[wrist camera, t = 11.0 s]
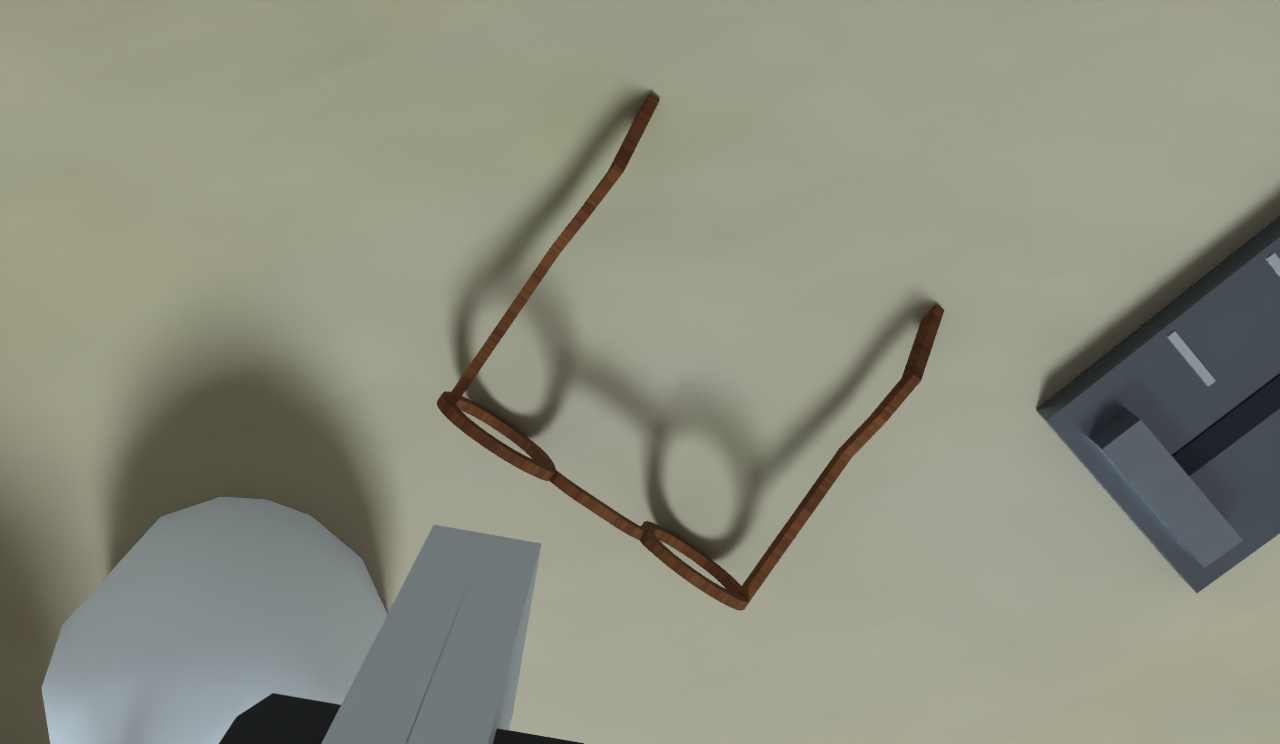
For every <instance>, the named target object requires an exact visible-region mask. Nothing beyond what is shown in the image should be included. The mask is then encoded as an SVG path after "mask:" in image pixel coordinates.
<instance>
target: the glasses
mask: <svg viewBox="0 0 1280 744" xmlns="http://www.w3.org/2000/svg"><path fill="white" fill-rule="evenodd" d="M658 102H659V99H657V98H656V97H654V96H653V95H652V94H650V96H649V97H648V98H647V100H646V101H645V103H644V104H643V106H642V107H641V109H640V111H639V112H638V114H637V116H636V118H635V120H634V122H633V123H632V125H631V127H630V129H629V131H628V133H627V135H626V137H625V139H624V141H623V143H622V145H621V147H620V149H619V151H618V153H617V155H616V157H615V159H614V161H613V163H612V165H611V166H610V168H609V170H608V172H607V173H606V175H605V176H604V178H603V179H602V180H601V182H600V183H599V184H598V186H597V187H596V188H595V190H594V191H593V193H592V194H591V195H590V197H589V198H588V199H587V201H586V202H585V203H584V205H583V206H582V207H581V209H580V210H579V211H578V213H577V214H576V215H575V217H574V218H573V219H572V221H571V222H570V223H569V224H568V226H567V227H566V228H565V230H564V231H563V232H562V233H561V235H560V236H559V237H558V239H557V240H556V241H555V242H554V244H553V245H552V246H551V248H550V249H549V251H548V252H547V253H546V255H545V256H544V258H543V259H542V261H541V262H540V264H539V265H538V267H537V268H536V269H535V271H534V272H533V274H532V275H531V277H530V278H529V280H528V281H527V283H526V284H525V285H524V287H523V288H522V290H521V291H520V293H519V294H518V296H517V297H516V299H515V300H514V301H513V303H512V304H511V306H510V307H509V309H508V310H507V312H506V313H505V315H504V316H503V317H502V319H501V320H500V322H499V323H498V325H497V326H496V328H495V329H494V331H493V332H492V334H491V335H490V336H489V338H488V339H487V341H486V342H485V344H484V345H483V347H482V348H481V350H480V351H479V352H478V354H477V355H476V357H475V358H474V360H473V361H472V363H471V364H470V366H469V367H468V368H467V370H466V371H465V373H464V374H463V376H462V377H461V379H460V380H459V382H458V383H457V384H456V386H455V387H454V389H453V390H452V392H443V394H442V395H441V396H440V398H439V399H438V401H437V405H438V408H439V409H440V410H441V412H442V413H443V414H444V415H445V416H446V417H447V418H448V419H449V420H450V421H451V422H452V423H453V424H454V425H455V426H457V427H458V428H459V429H460V430H462V431H463V432H464V433H465V434H467V435H468V436H469V437H471V438H472V439H474V440H475V441H476V442H478V443H479V444H481V445H482V446H483V447H485V448H486V449H488V450H489V451H491V452H492V453H494V454H496V455H497V456H499V457H500V458H502V459H503V460H505V461H507V462H508V463H510V464H512V465H514V466H515V467H517V468H519V469H521V470H523V471H525V472H527V473H529V474H531V475H533V476H535V477H538V478H540V479H542V480H545V481H550V482H552V483H553V484H554V485H555V486H556V487H558V488H559V489H560V490H562V491H563V492H564V493H566V494H567V495H568V496H570V497H571V498H573V499H574V500H576V501H577V502H579V503H580V504H582V505H583V506H585V507H586V508H588V509H589V510H591V511H592V512H594V513H595V514H597V515H598V516H600V517H601V518H603V519H604V520H606V521H607V522H609V523H610V524H612V525H613V526H615V527H616V528H618V529H620V530H621V531H623V532H625V533H626V534H628V535H630V536H632V537H634V538H636V539H638V540H640V541H641V543H642V544H643V545H644V546H645V547H646V548H647V549H648V550H649V551H650V552H652V553H653V554H654V555H655V556H656V557H657V558H659V559H660V560H661V561H662V562H663V563H664V564H666V565H667V566H668V567H670V568H671V569H672V570H673V571H675V572H676V573H677V574H679V575H680V576H681V577H683V578H684V579H686V580H687V581H688V582H690V583H691V584H693V585H694V586H696V587H697V588H699V589H700V590H702V591H703V592H705V593H706V594H708V595H710V596H711V597H713V598H715V599H716V600H718V601H720V602H721V603H723V604H725V605H727V606H729V607H731V608H734V609H736V610H741V611H742V610H744V609H745V608H746V606H747V605H748V603H749V602H750V600H751V599H752V597H753V596H754V594H755V593H756V592H757V590H758V589H759V587H760V586H761V585H762V583H763V582H764V580H765V579H766V578H767V576H768V575H769V573H770V572H771V571H772V569H773V568H774V566H775V565H776V563H777V562H778V561H779V559H780V558H781V556H782V555H783V554H784V552H785V551H786V549H787V548H788V547H789V545H790V544H791V542H792V541H793V540H794V538H795V537H796V535H797V534H798V532H799V531H800V530H801V528H802V527H803V525H804V524H805V523H806V521H807V520H808V518H809V517H810V516H811V514H812V513H813V511H814V510H815V509H816V507H817V506H818V504H819V503H820V501H821V500H822V499H823V497H824V496H825V494H826V493H827V492H828V490H829V489H830V487H831V486H832V485H833V483H834V482H835V480H836V479H837V478H838V476H839V475H840V473H841V472H842V470H843V469H844V468H845V466H846V465H847V463H848V462H849V461H850V459H851V458H852V457H853V456H854V455H855V454H856V453H857V451H858V450H859V449H860V448H861V447H862V446H863V445H864V444H865V443H866V442H867V441H868V440H869V439H870V438H871V437H872V436H873V435H874V434H875V433H876V432H877V431H878V430H879V429H880V428H881V427H882V426H883V425H884V423H885V422H886V421H887V420H888V419H889V418H890V417H891V415H892V414H893V413H894V412H895V411H896V410H897V408H898V407H899V406H900V405H901V404H902V402H903V401H904V400H905V399H906V398H907V396H908V395H909V394H910V393H911V392H912V391H913V389H914V388H915V387H916V386H917V385H918V383H919V382H920V381H921V379H922V376H923V373H924V370H925V367H926V364H927V361H928V358H929V355H930V352H931V349H932V346H933V343H934V340H935V337H936V334H937V330H938V327H939V324H940V321H941V318H942V315H943V312H944V310H943V309H942V308H941V307H939V306H938V305H935V306H934V307H933V308H932V309H931V310H930V311H929V313H928V314H927V315H926V316H925V317H924V318H923V319H922V320H921V323H920V326H919V329H918V332H917V335H916V338H915V341H914V344H913V347H912V350H911V352H910V355H909V358H908V361H907V364H906V367H905V370H904V373H903V376H902V378H901V380H900V381H899V382H898V383H897V384H896V386H895V387H894V388H893V389H892V390H891V392H890V393H889V394H888V395H887V396H886V398H885V399H884V400H883V401H882V402H881V404H880V405H879V406H878V407H877V408H876V410H875V411H874V412H873V413H872V414H871V416H870V417H869V418H868V419H867V420H866V421H865V422H864V423H863V424H862V425H861V426H860V427H859V428H858V429H857V430H856V431H855V432H854V434H853V435H852V436H851V437H850V438H849V439H848V440H847V441H846V442H845V443H844V444H843V445H842V446H841V447H840V448H839V450H838V451H837V452H836V454H835V455H834V457H833V458H832V460H831V461H830V462H829V464H828V465H827V467H826V468H825V469H824V471H823V472H822V474H821V475H820V476H819V478H818V479H817V481H816V482H815V483H814V485H813V486H812V488H811V489H810V491H809V492H808V493H807V495H806V496H805V498H804V499H803V500H802V502H801V503H800V505H799V506H798V507H797V509H796V510H795V512H794V513H793V515H792V516H791V517H790V519H789V520H788V522H787V523H786V524H785V526H784V527H783V529H782V530H781V531H780V533H779V534H778V536H777V537H776V538H775V540H774V541H773V543H772V544H771V546H770V547H769V548H768V550H767V551H766V553H765V554H764V555H763V557H762V558H761V560H760V561H759V562H758V564H757V565H756V567H755V568H754V570H753V571H752V572H751V574H750V575H749V577H748V578H747V579H746V581H745V582H744V584H743V585H742V586H741V585H740V584H739V583H738V582H737V581H736V580H735V579H734V578H733V577H732V576H731V575H730V574H728V573H727V572H726V571H725V570H724V569H722V568H721V567H720V566H719V565H718V564H716V563H715V562H714V561H712V560H711V559H710V558H708V557H707V556H706V555H704V554H703V553H701V552H700V551H698V550H697V549H695V548H694V547H692V546H691V545H689V544H688V543H686V542H685V541H683V540H682V539H680V538H679V537H677V536H676V535H674V534H673V533H671V532H670V531H668V530H666V529H664V528H662V527H661V526H659V525H657V524H654V523H652V522H649V521H646V522H644V523H643V524H642V526H639V525H637V524H635V523H634V522H632V521H630V520H629V519H627V518H625V517H624V516H622V515H621V514H619V513H618V512H616V511H615V510H613V509H612V508H610V507H609V506H607V505H606V504H604V503H603V502H601V501H600V500H598V499H597V498H595V497H594V496H592V495H591V494H589V493H588V492H586V491H585V490H583V489H582V488H580V487H578V486H577V485H576V484H574V483H573V482H571V481H570V480H569V479H567V478H566V477H564V476H563V475H562V474H560V473H559V472H558V471H556V468H555V465H554V464H553V462H552V460H551V459H550V458H549V456H548V455H547V454H546V453H545V452H544V451H543V450H542V449H541V448H540V447H539V446H537V445H536V444H535V443H534V442H533V441H531V440H530V439H529V438H528V437H526V436H525V435H524V434H522V433H521V432H519V431H518V430H517V429H515V428H514V427H512V426H511V425H509V424H508V423H506V422H504V421H503V420H501V419H500V418H498V417H497V416H495V415H494V414H492V413H491V412H489V411H488V410H486V409H485V408H483V407H482V406H480V405H478V404H476V403H474V402H473V401H471V400H469V399H467V398H465V397H463V396H462V395H463V393H464V392H465V391H466V389H467V388H468V386H469V385H470V383H471V382H472V380H473V379H474V377H475V376H476V375H477V373H478V372H479V370H480V369H481V367H482V366H483V364H484V363H485V361H486V360H487V359H488V357H489V356H490V354H491V353H492V351H493V350H494V348H495V347H496V345H497V344H498V343H499V341H500V340H501V338H502V337H503V335H504V334H505V332H506V331H507V329H508V328H509V327H510V325H511V324H512V322H513V321H514V319H515V318H516V316H517V315H518V313H519V312H520V311H521V309H522V308H523V306H524V305H525V303H526V302H527V300H528V299H529V297H530V296H531V295H532V293H533V292H534V290H535V289H536V287H537V286H538V284H539V283H540V281H541V280H542V279H543V277H544V276H545V274H546V273H547V271H548V270H549V268H550V267H551V265H552V264H553V263H554V261H555V260H556V258H557V257H558V255H559V254H560V253H561V251H562V250H563V249H564V248H565V246H566V245H567V244H568V243H569V241H570V240H571V239H572V238H573V236H574V235H575V234H576V233H577V231H578V230H579V229H580V228H581V226H582V225H583V224H584V222H585V221H586V220H587V219H588V217H589V216H590V215H591V214H592V212H593V211H594V210H595V208H596V207H597V206H598V204H599V203H600V202H601V201H602V199H603V198H604V197H605V195H606V194H607V193H608V191H609V190H610V189H611V187H612V186H613V185H614V183H615V182H616V181H617V179H618V178H619V177H620V176H621V174H622V173H623V172H624V170H625V168H626V166H627V164H628V162H629V160H630V158H631V156H632V154H633V152H634V150H635V148H636V146H637V144H638V142H639V140H640V138H641V136H642V134H643V132H644V130H645V128H646V126H647V124H648V122H649V120H650V118H651V116H652V114H653V112H654V110H655V108H656V106H657V104H658ZM462 411H464V412H466V413H468V414H470V415H472V416H474V417H476V418H478V419H479V420H481V421H483V422H484V423H486V424H488V425H489V426H491V427H492V428H494V429H496V430H497V431H499V432H500V433H501V434H503V435H504V436H506V437H507V438H509V439H510V440H511V441H513V442H514V443H515V444H517V445H518V446H519V447H520V448H522V449H523V450H524V451H525V452H526V453H527V454H528V455H529V456H530V457H531V458H532V459H531V458H529V457H526V456H524V455H522V454H521V453H519V452H517V451H515V450H514V449H512V448H510V447H509V446H507V445H505V444H504V443H502V442H501V441H499V440H498V439H496V438H495V437H493V436H492V435H490V434H489V433H487V432H486V431H485V430H483V429H482V428H480V427H479V426H478V425H477V424H475V423H474V422H473V421H471V420H470V419H469V418H468V417H467V416H466V415H465V414H464V413H463V412H462ZM659 540H660V541H662V542H664V543H666V544H668V545H670V546H671V547H673V548H675V549H676V550H678V551H679V552H681V553H683V554H684V555H686V556H687V557H688V558H690V559H691V560H693V561H694V562H696V563H697V564H698V565H700V566H701V567H702V568H704V569H705V570H706V571H707V572H709V573H710V574H711V575H712V576H713V577H715V578H716V579H717V580H718V581H719V582H720V583H721V584H722V585H723V586H724V587H725V588H726V589H725V588H723V587H721V586H719V585H717V584H716V583H714V582H712V581H711V580H709V579H708V578H706V577H705V576H703V575H702V574H700V573H699V572H697V571H696V570H694V569H693V568H691V567H690V566H689V565H687V564H686V563H685V562H683V561H682V560H681V559H679V558H678V557H677V556H676V555H675V554H673V553H672V552H671V551H670V550H669V549H668V548H666V547H665V546H664V545H663V544H662V543H661V542H660V541H659Z"/></svg>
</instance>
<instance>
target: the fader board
mask: <svg viewBox="0 0 1280 744" xmlns="http://www.w3.org/2000/svg"><path fill="white" fill-rule="evenodd" d="M1036 411H1037V412H1038V413H1039V414H1040V415H1041V416H1042V418H1043V419H1044V420H1045V421H1046V422H1047V423H1048V424H1049V426H1050V427H1051V428H1052V429H1053V430H1054V431H1055V433H1056V434H1057V435H1058V436H1059V437H1060V438H1061V439H1062V441H1063V442H1064V443H1065V444H1066V445H1067V446H1068V447H1069V449H1070V450H1071V451H1072V452H1073V453H1074V454H1075V456H1076V457H1077V458H1078V459H1079V460H1080V461H1081V462H1082V464H1083V465H1084V466H1085V467H1086V468H1087V469H1088V470H1089V472H1090V473H1091V474H1092V475H1093V476H1094V477H1095V478H1096V480H1097V481H1098V482H1099V483H1100V484H1101V485H1102V487H1103V488H1104V489H1105V490H1106V491H1107V492H1108V493H1109V495H1110V496H1111V497H1112V498H1113V499H1114V500H1115V501H1116V503H1117V504H1118V505H1119V506H1120V507H1121V508H1122V510H1123V511H1124V512H1125V513H1126V514H1127V515H1128V516H1129V518H1130V519H1131V520H1132V521H1133V522H1134V523H1135V524H1136V526H1137V527H1138V528H1139V529H1140V530H1141V531H1142V533H1143V534H1144V535H1145V536H1146V537H1147V538H1148V539H1149V541H1150V542H1151V543H1152V544H1153V545H1154V546H1155V547H1156V549H1157V550H1158V551H1159V552H1160V553H1161V554H1162V556H1163V557H1164V558H1165V559H1166V560H1167V561H1168V562H1169V564H1170V565H1171V566H1172V567H1173V568H1174V569H1175V570H1176V572H1177V573H1178V574H1179V575H1180V576H1181V577H1182V578H1183V580H1184V581H1185V582H1186V583H1187V584H1188V585H1189V586H1190V587H1191V588H1192V589H1193V590H1194V591H1195V592H1196V593H1198V592H1199V591H1201V590H1202V589H1203V588H1205V587H1206V586H1208V585H1209V584H1210V583H1212V582H1213V581H1214V580H1216V579H1217V578H1219V577H1220V576H1221V575H1223V574H1224V573H1226V572H1227V571H1228V570H1230V569H1231V568H1232V567H1234V566H1235V565H1237V564H1238V563H1239V562H1241V561H1242V560H1243V559H1245V558H1246V557H1248V556H1249V555H1250V554H1252V553H1253V552H1255V551H1256V550H1257V549H1259V548H1260V547H1261V546H1263V545H1264V544H1266V543H1267V542H1268V541H1270V540H1271V539H1272V538H1274V537H1275V536H1277V535H1278V534H1279V533H1280V217H1279V218H1278V219H1276V220H1275V221H1274V222H1273V223H1271V224H1270V225H1269V226H1267V227H1266V228H1265V229H1264V230H1262V231H1261V232H1260V233H1259V234H1257V235H1256V236H1255V237H1254V238H1252V239H1251V240H1250V241H1249V242H1247V243H1246V244H1245V245H1244V246H1242V247H1241V248H1240V249H1239V250H1237V251H1236V252H1235V253H1233V254H1232V255H1231V256H1230V257H1228V258H1227V259H1226V260H1225V261H1223V262H1222V263H1221V264H1220V265H1218V266H1217V267H1216V268H1215V269H1213V270H1212V271H1211V272H1210V273H1208V274H1207V275H1206V276H1204V277H1203V278H1202V279H1201V280H1199V281H1198V282H1197V283H1196V284H1194V285H1193V286H1192V287H1191V288H1189V289H1188V290H1187V291H1186V292H1184V293H1183V294H1182V295H1181V296H1179V297H1178V298H1177V299H1176V300H1174V301H1173V302H1172V303H1170V304H1169V305H1168V306H1167V307H1165V308H1164V309H1163V310H1162V311H1160V312H1159V313H1158V314H1157V315H1155V316H1154V317H1153V318H1152V319H1150V320H1149V321H1148V322H1147V323H1145V324H1144V325H1143V326H1142V327H1140V328H1139V329H1138V330H1136V331H1135V332H1134V333H1133V334H1131V335H1130V336H1129V337H1128V338H1126V339H1125V340H1124V341H1123V342H1121V343H1120V344H1119V345H1118V346H1116V347H1115V348H1114V349H1113V350H1111V351H1110V352H1109V353H1108V354H1106V355H1105V356H1104V357H1102V358H1101V359H1100V360H1099V361H1097V362H1096V363H1095V364H1094V365H1092V366H1091V367H1090V368H1089V369H1087V370H1086V371H1085V372H1084V373H1082V374H1081V375H1080V376H1079V377H1077V378H1076V379H1075V380H1074V381H1072V382H1071V383H1070V384H1068V385H1067V386H1066V387H1065V388H1063V389H1062V390H1061V391H1060V392H1058V393H1057V394H1056V395H1055V396H1053V397H1052V398H1051V399H1050V400H1048V401H1047V402H1046V403H1045V404H1043V405H1042V406H1041V407H1040V408H1038V409H1037V410H1036Z"/></svg>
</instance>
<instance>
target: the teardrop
mask: <svg viewBox="0 0 1280 744" xmlns="http://www.w3.org/2000/svg"><path fill="white" fill-rule="evenodd" d="M387 615H388V614H387V612H386V610H385V608H384V606H383V603H382V601H381V599H380V597H379V595H378V592H377V590H376V588H375V586H374V584H373V581H372V579H371V577H370V575H369V573H368V570H367V568H366V566H365V564H364V562H363V559H362V558H361V557H359V556H358V555H357V554H356V553H355V552H354V551H352V550H351V549H350V548H349V547H348V546H346V545H345V544H344V543H343V542H342V541H341V540H339V539H338V538H337V537H336V536H335V535H333V534H332V533H331V532H330V531H329V530H328V529H326V528H325V527H324V526H323V525H322V524H320V523H319V522H318V521H317V520H316V519H315V518H313V517H312V516H311V515H308V514H305V513H302V512H300V511H297V510H294V509H291V508H289V507H286V506H283V505H281V504H278V503H275V502H272V501H270V500H267V499H251V498H235V497H218V498H215V499H212V500H209V501H206V502H203V503H200V504H197V505H194V506H191V507H188V508H185V509H182V510H179V511H176V512H173V513H170V514H167V515H164V516H161V517H160V518H159V519H158V520H157V521H156V522H155V523H154V524H153V526H152V527H151V528H150V529H149V530H148V531H147V532H146V533H145V534H144V535H143V537H142V538H141V539H140V540H139V541H138V542H137V543H136V544H135V545H134V546H133V547H132V549H131V550H130V551H129V552H128V553H127V554H126V555H125V556H124V557H123V558H122V560H121V561H120V562H119V563H118V564H117V565H116V566H115V567H114V568H113V569H112V571H111V572H110V573H109V574H108V575H107V576H106V577H105V578H104V579H103V580H102V582H101V583H100V584H99V585H98V586H97V587H96V588H95V589H94V590H93V592H92V593H91V594H90V595H89V596H88V597H87V598H86V599H85V600H84V601H83V603H82V604H81V605H80V606H79V607H78V608H77V609H76V610H75V611H74V612H73V614H72V615H71V616H70V617H69V618H68V619H67V620H66V621H65V622H64V624H63V625H62V628H61V631H60V634H59V637H58V640H57V643H56V646H55V649H54V652H53V655H52V658H51V661H50V664H49V667H48V670H47V673H46V676H45V679H44V682H43V685H42V688H41V689H42V695H43V701H44V708H45V714H46V720H47V726H48V733H49V739H50V744H219V742H220V741H221V739H222V738H223V736H224V735H225V733H226V732H227V730H228V729H229V727H230V726H231V724H232V723H233V721H234V720H235V718H236V717H237V716H238V715H240V714H241V713H243V712H244V711H246V710H248V709H249V708H251V707H252V706H254V705H255V704H257V703H258V702H260V701H261V700H263V699H264V698H266V697H267V696H269V695H271V694H272V693H276V694H282V695H287V696H293V697H299V698H305V699H311V700H316V701H322V702H328V703H334V704H340V705H342V703H343V701H344V699H345V697H346V695H347V693H348V691H349V689H350V687H351V685H352V683H353V681H354V679H355V677H356V675H357V673H358V671H359V669H360V668H361V666H362V664H363V662H364V660H365V658H366V656H367V654H368V652H369V650H370V648H371V646H372V644H373V642H374V640H375V638H376V636H377V634H378V632H379V630H380V629H381V627H382V625H383V623H384V621H385V619H386V617H387Z"/></svg>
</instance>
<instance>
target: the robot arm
mask: <svg viewBox="0 0 1280 744" xmlns="http://www.w3.org/2000/svg"><path fill="white" fill-rule="evenodd" d="M540 548H541V544H540V543H535V542H529V541H523V540H518V539H512V538H506V537H501V536H495V535H489V534H484V533H478V532H472V531H467V530H461V529H455V528H450V527H444V526H438V525H433V527H432V529H431V531H430V533H429V535H428V537H427V539H426V541H425V543H424V545H423V547H422V549H421V551H420V553H419V554H418V556H417V558H416V560H415V562H414V564H413V566H412V568H411V570H410V572H409V574H408V576H407V578H406V580H405V582H404V584H403V586H402V588H401V590H400V592H399V593H398V595H397V597H396V599H395V601H394V603H393V605H392V607H391V609H390V611H389V613H388V615H387V617H386V619H385V621H384V623H383V625H382V627H381V629H380V630H379V632H378V634H377V636H376V638H375V640H374V642H373V644H372V646H371V648H370V650H369V652H368V654H367V656H366V658H365V660H364V662H363V664H362V666H361V668H360V669H359V671H358V673H357V675H356V677H355V679H354V681H353V683H352V685H351V687H350V689H349V691H348V693H347V695H346V697H345V699H344V701H343V703H342V705H340V704H334V703H328V702H322V701H316V700H311V699H305V698H299V697H293V696H287V695H282V694H276V693H272V694H271V695H269V696H267V697H266V698H264V699H263V700H261V701H260V702H258V703H257V704H255V705H254V706H252V707H251V708H249V709H248V710H246V711H244V712H243V713H241V714H240V715H238V716H237V717H236V718H235V720H234V721H233V723H232V724H231V726H230V727H229V729H228V730H227V732H226V733H225V735H224V736H223V738H222V739H221V741H220V742H219V744H584V743H579V742H573V741H567V740H561V739H556V738H550V737H544V736H538V735H532V734H527V733H521V732H515V731H509V726H510V722H511V718H512V714H513V708H514V702H515V696H516V690H517V684H518V678H519V672H520V666H521V660H522V654H523V649H524V643H525V637H526V631H527V625H528V619H529V613H530V607H531V601H532V595H533V589H534V583H535V578H536V572H537V566H538V560H539V554H540Z"/></svg>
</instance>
